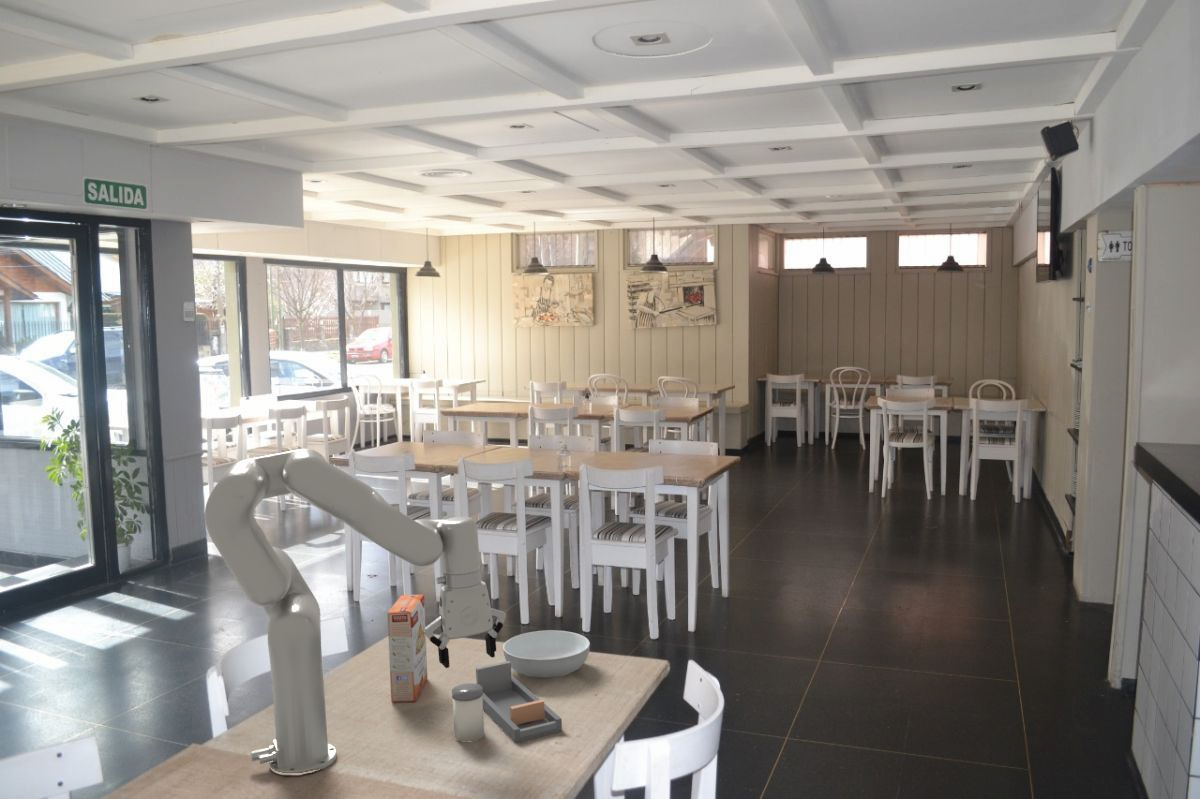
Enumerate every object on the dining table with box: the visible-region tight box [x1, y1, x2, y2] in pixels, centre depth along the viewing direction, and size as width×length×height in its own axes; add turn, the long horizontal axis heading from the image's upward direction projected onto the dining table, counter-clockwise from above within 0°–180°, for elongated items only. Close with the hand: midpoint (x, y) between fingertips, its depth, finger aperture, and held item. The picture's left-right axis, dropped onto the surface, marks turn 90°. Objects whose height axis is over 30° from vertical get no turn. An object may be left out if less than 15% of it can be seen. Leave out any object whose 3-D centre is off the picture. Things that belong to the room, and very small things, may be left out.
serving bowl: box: [502, 629, 591, 679], centre depth 226 cm, size 21×21×7 cm
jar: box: [451, 682, 485, 743], centre depth 192 cm, size 6×6×10 cm
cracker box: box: [386, 594, 428, 703], centre depth 216 cm, size 14×6×21 cm, turn 179°
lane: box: [475, 660, 563, 743], centre depth 202 cm, size 10×26×7 cm, turn 27°
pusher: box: [510, 699, 545, 725], centre depth 197 cm, size 7×5×4 cm
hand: (468, 660), depth 191 cm, fingers open, 9 cm apart
